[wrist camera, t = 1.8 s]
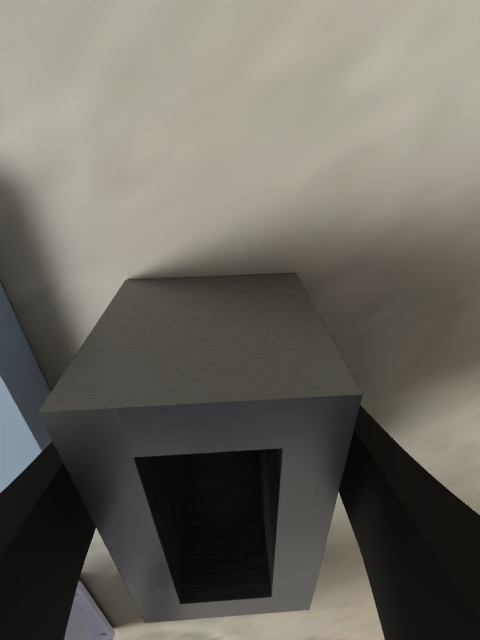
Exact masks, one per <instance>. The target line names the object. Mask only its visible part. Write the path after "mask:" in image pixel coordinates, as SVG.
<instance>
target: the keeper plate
mask: <svg viewBox="0 0 480 640" xmlns="http://www.w3.org/2000/svg"><path fill="white" fill-rule="evenodd" d="M50 393H51V392H50V390H49V387H48V385H47V383H46V381H45V379H44V376H43V374H42V372H41V370H40V368H39V365H38V363H37V361H36V359H35V357H34V355H33V352H32V350H31V348H30V346H29V344H28V341H27V339H26V337H25V335H24V333H23V331H22V328H21V326H20V324H19V322H18V320H17V317H16V315H15V313H14V311H13V309H12V306H11V304H10V302H9V300H8V298H7V296H6V293H5V291H4V289H3V287H2V285H1V282H0V493H1V492H2V491H3V490H4V489H5V488H6V487H7V486H8V485H9V484H10V483H11V482H12V481H13V480H14V479H15V478H16V477H18V476H19V475H20V474H21V473H22V472H23V471H24V470H25V469H26V468H27V467H28V465H29V464H30V463H31V462H32V461H33V460H34V459H35V458H36V457H37V456H38V455H39V454H40V453H41V452H42V451H43V450H44V449H45V448H46V447H47V446H48V445H49V444H50V443H51V442H52V439H51V438H50V436H49V434H48V432H47V430H46V428H45V426H44V424H43V422H42V420H41V418H40V416H39V414H38V411H39V410H40V408H41V407H42V405H43V404H44V402H45V401H46V399H47V398H48V396H49V395H50Z"/></svg>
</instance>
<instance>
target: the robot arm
mask: <svg viewBox="0 0 480 640" xmlns="http://www.w3.org/2000/svg"><path fill="white" fill-rule="evenodd" d="M339 493H340V496H341V499H342V502H343V504H344V507H345V510H346V512H347V515H348V518H349V520H350V523H351V526H352V528H353V531H354V534H355V537H356V539H357V542H358V545H359V548H360V551H361V554H362V557H363V560H364V564H365V568H366V571H367V575H368V578H369V582H370V585H371V589H372V593H373V596H374V600H375V604H376V607H377V611H378V615H379V619H380V623H381V626H382V630H383V634H384V638H385V640H480V515H479V514H477V513H476V512H475V511H474V510H472V509H471V508H470V507H469V506H467V505H466V504H465V503H464V502H462V501H461V500H460V499H459V498H458V497H456V496H455V495H454V494H453V493H451V492H450V491H449V490H448V489H447V488H446V487H444V486H443V485H442V484H441V483H440V482H439V481H437V480H436V479H435V478H434V477H433V476H432V475H431V474H430V473H428V472H427V471H426V470H425V469H424V468H423V467H422V466H421V465H420V464H419V463H417V462H416V461H415V460H414V459H413V458H412V457H411V456H410V455H409V454H408V453H407V452H406V451H405V450H404V449H403V448H402V447H401V446H400V445H399V444H398V443H397V442H396V441H395V440H394V439H393V438H392V437H391V436H390V435H389V434H388V433H387V432H386V431H385V430H384V429H383V428H382V427H381V426H380V425H379V424H378V423H377V422H376V421H375V420H374V419H373V418H372V417H371V416H370V415H369V414H368V413H367V412H366V410H365V409H364V408H363V407H362V406H361V405H360V406H359V410H358V414H357V418H356V422H355V426H354V431H353V435H352V439H351V443H350V447H349V451H348V455H347V459H346V463H345V467H344V471H343V475H342V479H341V483H340V487H339ZM95 529H96V526H95V524H94V522H93V520H92V518H91V516H90V514H89V512H88V510H87V508H86V506H85V504H84V502H83V500H82V498H81V496H80V494H79V492H78V490H77V488H76V487H75V485H74V483H73V481H72V479H71V477H70V475H69V473H68V471H67V469H66V467H65V465H64V463H63V461H62V459H61V457H60V455H59V453H58V451H57V449H56V447H55V445H54V443H53V441H52V442H51V443H50V444H49V445H48V446H47V447H46V448H45V449H44V450H43V451H42V452H41V453H40V454H39V455H38V456H37V457H36V458H35V459H34V460H33V461H32V462H31V463H30V464H29V465H28V467H27V468H26V469H25V470H24V471H23V472H22V473H21V474H20V475H19V476H18V477H16V478H15V479H14V480H13V481H12V482H11V483H10V484H9V485H8V486H7V487H6V488H5V489H4V490H3V491H2V492H1V493H0V640H113V639H114V635H115V631H114V630H113V628H112V627H111V625H110V624H109V622H108V621H107V619H106V618H105V616H104V615H103V613H102V612H101V610H100V609H99V607H98V606H97V605H96V603H95V602H94V600H93V599H92V597H91V596H90V594H89V593H88V591H87V590H86V588H85V587H84V585H83V584H82V582H81V581H79V578H80V574H81V571H82V568H83V564H84V561H85V558H86V555H87V552H88V549H89V546H90V543H91V541H92V538H93V535H94V532H95Z"/></svg>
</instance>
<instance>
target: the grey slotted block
mask: <svg viewBox="0 0 480 640" xmlns="http://www.w3.org/2000/svg"><path fill="white" fill-rule="evenodd" d="M361 398H362V393H361V391H360V389H359V387H358V385H357V383H356V382H355V380H354V378H353V376H352V374H351V373H350V371H349V369H348V367H347V365H346V363H345V362H344V360H343V358H342V356H341V354H340V352H339V351H338V349H337V347H336V345H335V343H334V342H333V340H332V338H331V336H330V334H329V332H328V331H327V329H326V327H325V325H324V323H323V321H322V320H321V318H320V316H319V314H318V312H317V310H316V309H315V307H314V305H313V303H312V301H311V300H310V298H309V296H308V294H307V292H306V290H305V289H304V287H303V285H302V283H301V281H300V279H299V278H298V276H297V274H296V273H286V274H262V275H239V276H215V277H191V278H167V279H143V280H125V282H124V283H123V285H122V286H121V288H120V289H119V291H118V292H117V294H116V295H115V297H114V298H113V300H112V301H111V303H110V304H109V306H108V307H107V309H106V310H105V312H104V313H103V315H102V316H101V318H100V319H99V321H98V322H97V324H96V325H95V327H94V328H93V330H92V331H91V333H90V334H89V336H88V337H87V339H86V340H85V342H84V343H83V345H82V346H81V348H80V349H79V351H78V352H77V354H76V355H75V357H74V358H73V360H72V361H71V363H70V364H69V366H68V367H67V369H66V370H65V372H64V373H63V375H62V376H61V378H60V379H59V381H58V382H57V384H56V386H55V387H54V389H53V390H52V392H51V393H50V395H49V396H48V398H47V399H46V401H45V402H44V404H43V405H42V407H41V408H40V410H39V411H38V414H39V416H40V418H41V420H42V422H43V424H44V426H45V428H46V430H47V432H48V434H49V436H50V438H51V439H52V441H53V443H54V445H55V447H56V449H57V451H58V453H59V455H60V457H61V459H62V461H63V463H64V465H65V467H66V469H67V471H68V473H69V475H70V477H71V479H72V481H73V483H74V485H75V487H76V488H77V490H78V492H79V494H80V496H81V498H82V500H83V502H84V504H85V506H86V508H87V510H88V512H89V514H90V516H91V518H92V520H93V522H94V524H95V526H96V528H97V530H98V532H99V534H100V536H101V538H102V539H103V541H104V543H105V545H106V547H107V549H108V551H109V553H110V555H111V557H112V559H113V561H114V563H115V565H116V567H117V569H118V571H119V573H120V575H121V577H122V579H123V581H124V583H125V585H126V587H127V588H128V590H129V592H130V594H131V596H132V598H133V600H134V602H135V604H136V606H137V608H138V610H139V612H140V614H141V616H142V618H143V620H144V622H145V623H148V622H161V621H174V620H186V619H199V618H212V617H224V616H237V615H249V614H262V613H275V612H287V611H300V610H309V609H310V605H311V601H312V597H313V593H314V589H315V585H316V581H317V577H318V573H319V569H320V565H321V560H322V556H323V552H324V548H325V544H326V540H327V536H328V532H329V528H330V524H331V520H332V516H333V512H334V508H335V504H336V500H337V496H338V491H339V487H340V483H341V479H342V475H343V471H344V467H345V463H346V459H347V455H348V451H349V447H350V443H351V439H352V435H353V431H354V426H355V422H356V418H357V414H358V410H359V406H360V402H361Z"/></svg>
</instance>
